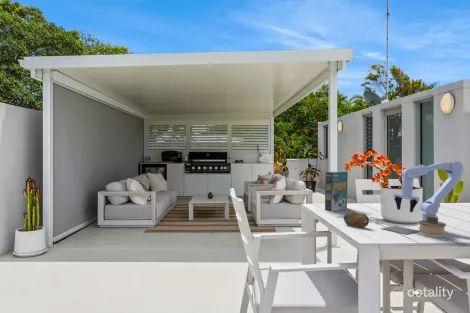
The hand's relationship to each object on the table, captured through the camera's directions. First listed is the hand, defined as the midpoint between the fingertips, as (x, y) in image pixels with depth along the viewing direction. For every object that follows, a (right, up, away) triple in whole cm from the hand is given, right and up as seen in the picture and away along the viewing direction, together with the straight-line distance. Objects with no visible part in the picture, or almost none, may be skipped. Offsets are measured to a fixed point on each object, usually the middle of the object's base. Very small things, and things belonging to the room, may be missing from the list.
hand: (404, 210), depth 197 cm
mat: (-6, -11, -6) cm, 13 cm away
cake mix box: (-21, -10, +65) cm, 69 cm away
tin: (-28, -10, +3) cm, 30 cm away
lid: (+7, -5, -16) cm, 18 cm away
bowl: (+7, -11, -16) cm, 20 cm away
